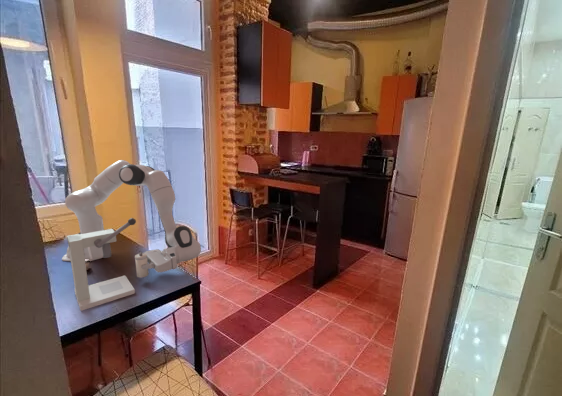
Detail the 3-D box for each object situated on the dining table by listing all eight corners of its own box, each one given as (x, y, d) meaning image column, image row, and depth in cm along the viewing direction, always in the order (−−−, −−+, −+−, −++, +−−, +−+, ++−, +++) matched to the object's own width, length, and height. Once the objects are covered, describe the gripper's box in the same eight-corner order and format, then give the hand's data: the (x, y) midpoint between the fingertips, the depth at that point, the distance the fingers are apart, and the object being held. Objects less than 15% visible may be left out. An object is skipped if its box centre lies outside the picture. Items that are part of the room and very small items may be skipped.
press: (133, 276, 140) (126, 210, 132) (143, 290, 128) (137, 219, 121) (75, 293, 125) (63, 219, 117) (80, 310, 113) (68, 230, 105)
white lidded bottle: (134, 277, 132) (132, 254, 129) (139, 272, 137) (136, 250, 134) (146, 277, 133) (144, 254, 130) (150, 272, 138) (148, 250, 135)
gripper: (161, 244, 149) (132, 251, 140) (177, 257, 134) (146, 266, 125) (162, 255, 150) (133, 263, 141) (177, 270, 135) (147, 279, 126)
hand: (139, 264), depth 133 cm, fingers closed on white lidded bottle, 5 cm apart
